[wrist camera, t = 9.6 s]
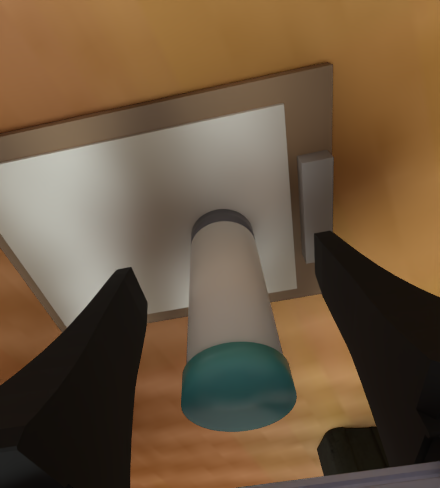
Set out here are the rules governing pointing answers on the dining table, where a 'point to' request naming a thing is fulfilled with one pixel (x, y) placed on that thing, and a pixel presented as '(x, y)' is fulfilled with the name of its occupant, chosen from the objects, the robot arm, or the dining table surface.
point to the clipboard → (170, 190)
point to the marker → (231, 332)
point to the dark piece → (351, 451)
